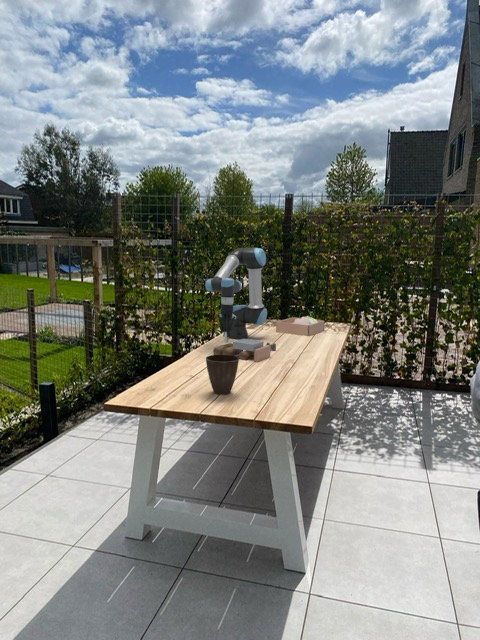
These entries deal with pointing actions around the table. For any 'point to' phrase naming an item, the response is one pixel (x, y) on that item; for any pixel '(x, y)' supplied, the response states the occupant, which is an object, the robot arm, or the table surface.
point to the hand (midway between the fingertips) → (226, 342)
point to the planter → (299, 327)
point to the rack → (272, 346)
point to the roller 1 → (221, 348)
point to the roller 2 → (231, 351)
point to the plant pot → (222, 372)
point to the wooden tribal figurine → (305, 320)
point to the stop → (262, 353)
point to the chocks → (239, 358)
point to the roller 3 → (246, 354)
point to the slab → (247, 344)
